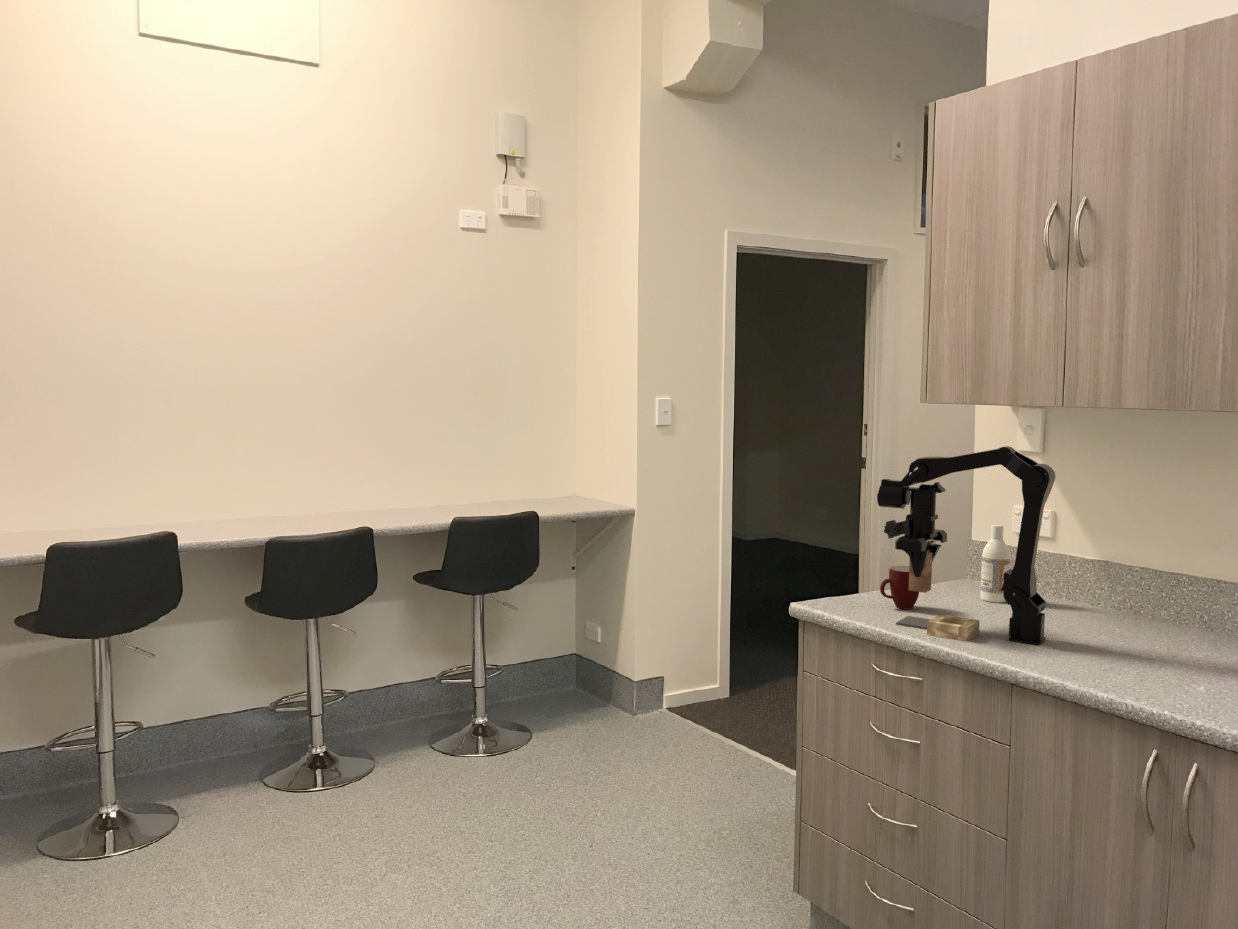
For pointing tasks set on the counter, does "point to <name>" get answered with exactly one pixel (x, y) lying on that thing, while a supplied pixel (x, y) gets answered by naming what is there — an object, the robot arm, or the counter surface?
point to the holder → (953, 627)
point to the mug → (900, 587)
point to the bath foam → (994, 566)
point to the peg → (921, 577)
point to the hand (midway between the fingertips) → (920, 575)
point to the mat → (914, 622)
